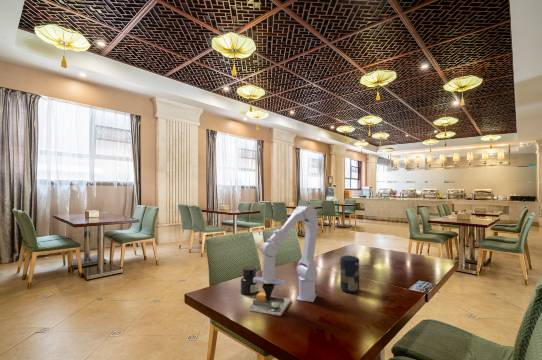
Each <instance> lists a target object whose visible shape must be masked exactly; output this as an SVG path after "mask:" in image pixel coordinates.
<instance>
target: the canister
mask: <svg viewBox="0 0 542 360" xmlns="http://www.w3.org/2000/svg"><path fill="white" fill-rule="evenodd" d="M339 263H340V264H339V265H340V266H339V268H340V269H339V271H340V272H339V273H340V276H339V277H340V278H339V279H340V289H341V290H342V291H343V292H345V293H351V294H353V293H358V292H359V291H360V259H359V257H357V256H354V255H353V256H352V255H349V254H348V255H343V256H342V255H341V256H340V259H339Z"/></svg>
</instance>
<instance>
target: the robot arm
mask: <svg viewBox="0 0 542 360" xmlns="http://www.w3.org/2000/svg"><path fill="white" fill-rule="evenodd" d="M317 215H318V212H317V210H316V209H315V208H314V207H313V206H312V205H301V204H300V205H297V206H296V207H295V209H294V210H292V213H291V214H290V216H289V217H288V219H287V220H286V221H285V223H284V224H283V225H282V227H281V228H277V229H276V230H275V229H274V230H273V232H272V233H273V234H272V235H271V236H270V237H269V238H267V239H266V242H265V241H264V242H263V243H262V244H261V247H260V252H261V254H262V258H261V261H262V270H261V271H262V274H261V275H262V276H261V277H258V276H256V277H254V278H253V283H258V284H262V286H261V287H262V289H263V292H264V293H265V294H266V297H267V301H270V298H271V296H272V293H273V290H274V288H275V286H281V287H284V286H285V285H286V282H285V280H284V279H279V278H276V255H277V254H278V252H279V251H278V250H279V247H280V246H281V245H282V244H283V243H284V241H285V240H286V239H287V235H288V232H290V231H291V230H292V228H293V227H294V226H295V225H296V224H297V223H298V222H303V223H304V224H305V225H306V228H305V234H304V243H303V249H302V257H301V258H300V259H299V260H298V263H297V266H296V268H295V272H296V274H297V276H298V296H297V297H296V301H302V302H310V303H311V302H312V303H314V301H315V299H316V297H317V293H316V292H315V291H316V290H315V289H316V288H315V286H316V285H315V280H316V278H317V276H318V271H317V263H316V262H315V259H314V257H315V250H316V243H317V242H316V241H317V235H318V234H317V233H318V227H319V220H318V217H317Z"/></svg>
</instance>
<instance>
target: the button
mask: <svg viewBox="0 0 542 360" xmlns="http://www.w3.org/2000/svg"><path fill="white" fill-rule="evenodd" d="M271 306H272V307H273V308H277V307H279V302H272V304H271Z"/></svg>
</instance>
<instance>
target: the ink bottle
mask: <svg viewBox="0 0 542 360" xmlns="http://www.w3.org/2000/svg"><path fill="white" fill-rule="evenodd" d="M254 277H257V267H256V266H245V267H242V277H241V278H240V293H241V294H242V295H245V296H253V295H257V294H258V293H259V292H258V291H259V283H253V278H254Z"/></svg>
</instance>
